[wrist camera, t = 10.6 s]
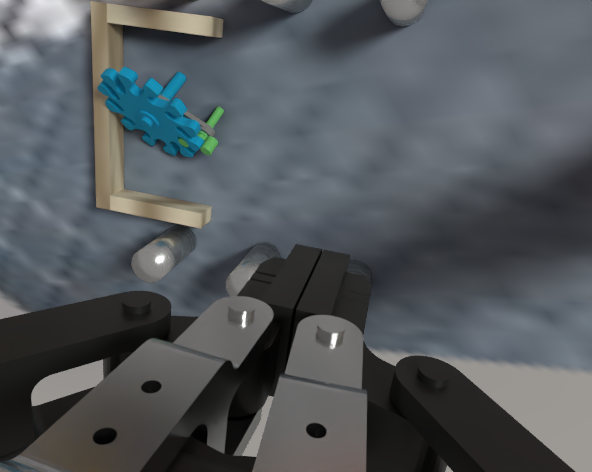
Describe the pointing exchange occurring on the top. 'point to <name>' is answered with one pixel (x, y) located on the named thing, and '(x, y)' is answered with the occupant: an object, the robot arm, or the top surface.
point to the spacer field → (181, 242)
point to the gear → (158, 112)
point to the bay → (108, 123)
